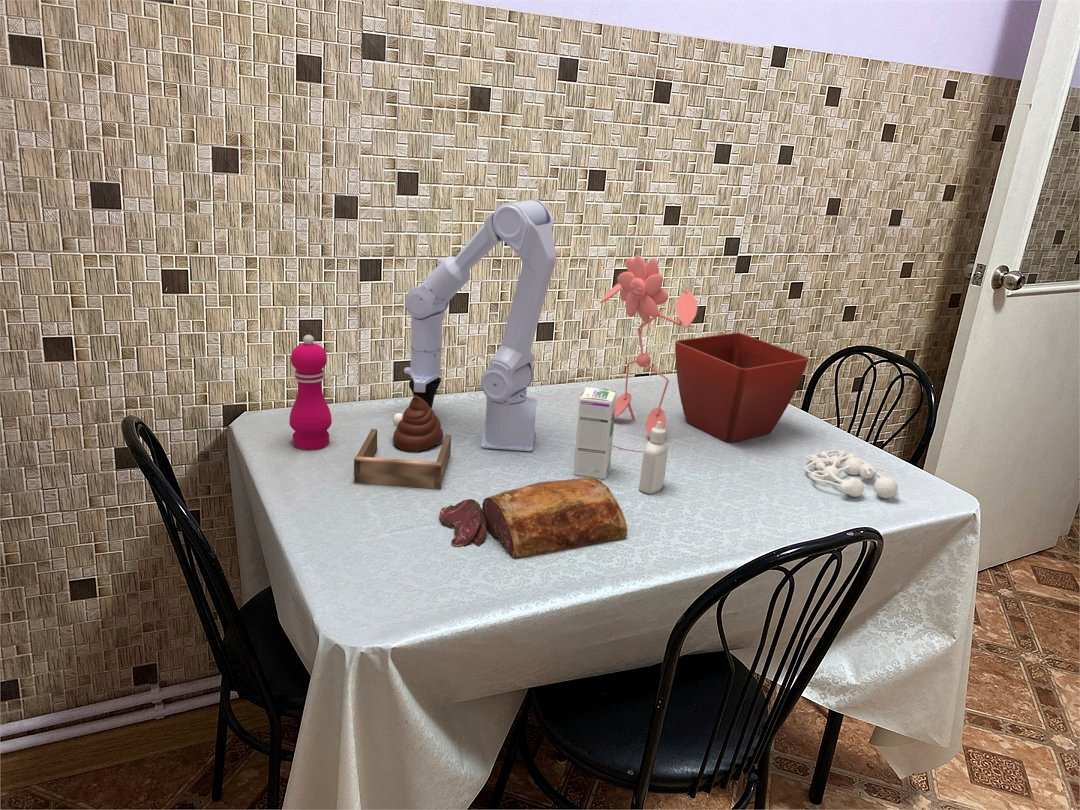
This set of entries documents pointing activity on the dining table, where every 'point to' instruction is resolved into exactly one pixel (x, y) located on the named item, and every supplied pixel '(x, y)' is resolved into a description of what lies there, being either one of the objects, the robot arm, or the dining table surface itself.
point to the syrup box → (594, 432)
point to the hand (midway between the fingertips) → (424, 415)
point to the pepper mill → (309, 397)
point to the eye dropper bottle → (654, 461)
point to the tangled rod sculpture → (852, 466)
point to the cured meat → (540, 517)
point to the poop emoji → (417, 427)
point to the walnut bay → (399, 467)
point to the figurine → (647, 319)
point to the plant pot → (735, 384)
